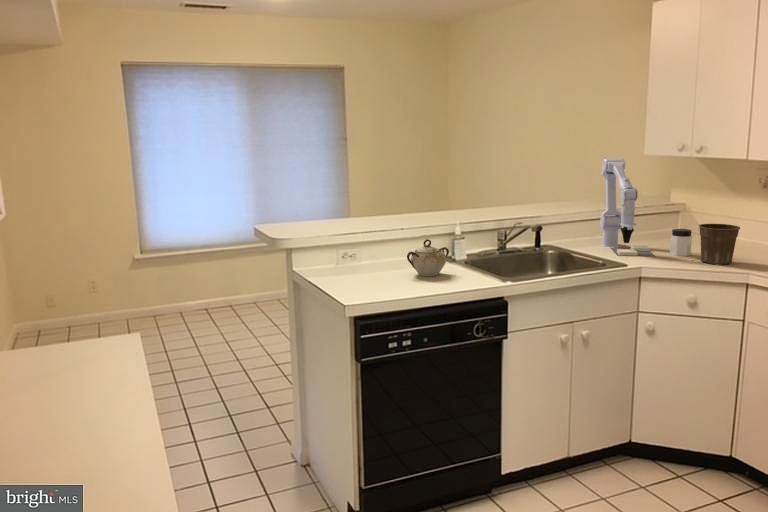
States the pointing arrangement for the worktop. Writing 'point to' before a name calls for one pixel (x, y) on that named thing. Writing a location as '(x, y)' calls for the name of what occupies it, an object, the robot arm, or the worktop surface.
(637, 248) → the tile
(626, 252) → the tile
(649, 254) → the mat
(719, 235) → the plant pot
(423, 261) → the sugar bowl
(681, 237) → the jar
